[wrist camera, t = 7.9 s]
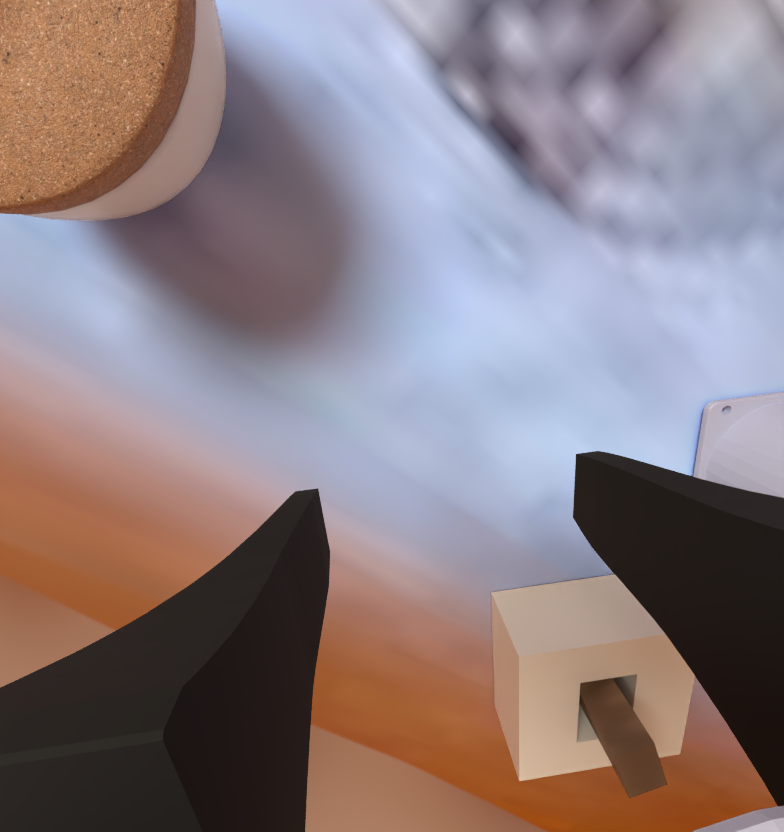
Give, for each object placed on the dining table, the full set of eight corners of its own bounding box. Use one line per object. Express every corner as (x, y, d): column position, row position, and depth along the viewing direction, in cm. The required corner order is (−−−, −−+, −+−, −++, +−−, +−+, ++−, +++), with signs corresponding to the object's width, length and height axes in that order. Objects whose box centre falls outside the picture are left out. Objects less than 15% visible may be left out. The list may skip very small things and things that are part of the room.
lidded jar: (82, 279, 17) (-212, 273, 8) (-103, -21, 14) (-930, -570, 5) (306, 186, 17) (246, 75, 8) (173, -149, 13) (-193, -1003, 5)
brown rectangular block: (577, 622, 25) (654, 742, 19) (589, 658, 26) (667, 784, 20) (547, 634, 25) (614, 757, 19) (561, 669, 26) (629, 798, 20)
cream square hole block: (645, 569, 25) (704, 628, 21) (631, 683, 28) (679, 754, 24) (491, 592, 25) (518, 656, 20) (494, 704, 28) (519, 781, 23)
